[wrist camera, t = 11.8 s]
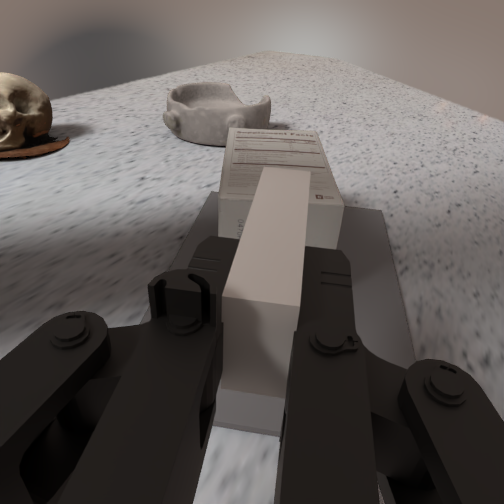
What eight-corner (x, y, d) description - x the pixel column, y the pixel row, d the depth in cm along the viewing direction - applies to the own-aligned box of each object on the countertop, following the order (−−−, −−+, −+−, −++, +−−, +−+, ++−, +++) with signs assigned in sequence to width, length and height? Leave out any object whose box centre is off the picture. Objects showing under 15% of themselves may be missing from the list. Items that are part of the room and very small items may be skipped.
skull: (2, 165, 41) (-69, 73, 40) (-21, 206, 48) (-83, 129, 47) (95, 131, 50) (40, 54, 48) (64, 170, 57) (15, 104, 55)
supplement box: (214, 298, 27) (225, 207, 38) (328, 302, 27) (308, 211, 38) (213, 194, 23) (226, 125, 34) (347, 200, 23) (319, 129, 34)
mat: (435, 462, 19) (438, 458, 19) (99, 406, 21) (97, 401, 20) (380, 214, 39) (381, 210, 39) (211, 195, 40) (211, 191, 40)
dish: (200, 111, 64) (199, 77, 62) (284, 127, 60) (288, 91, 57) (141, 138, 53) (137, 97, 50) (239, 160, 49) (240, 116, 46)
